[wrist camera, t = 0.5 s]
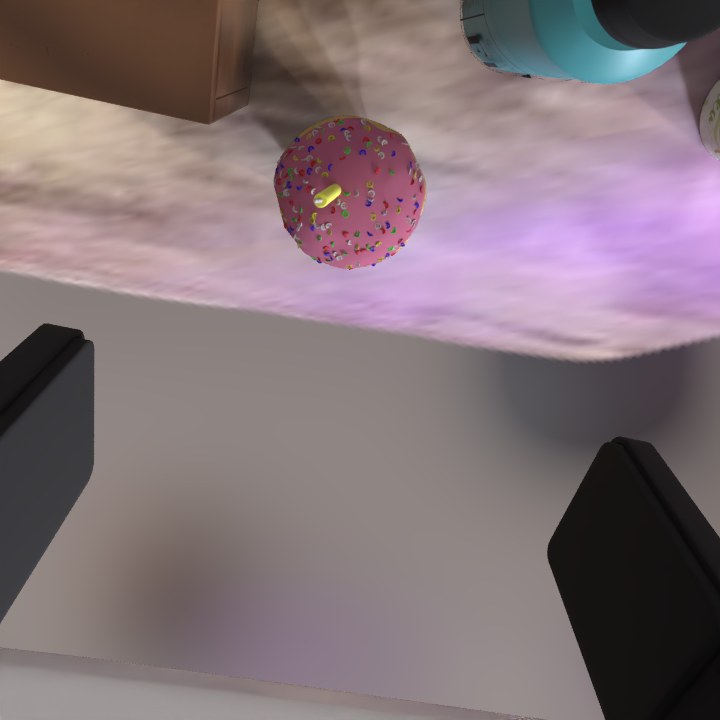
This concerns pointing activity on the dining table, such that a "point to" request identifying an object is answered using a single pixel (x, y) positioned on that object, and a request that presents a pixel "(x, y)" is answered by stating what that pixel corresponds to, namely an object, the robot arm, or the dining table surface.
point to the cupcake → (350, 191)
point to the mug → (711, 122)
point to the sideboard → (134, 52)
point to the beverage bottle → (584, 35)
